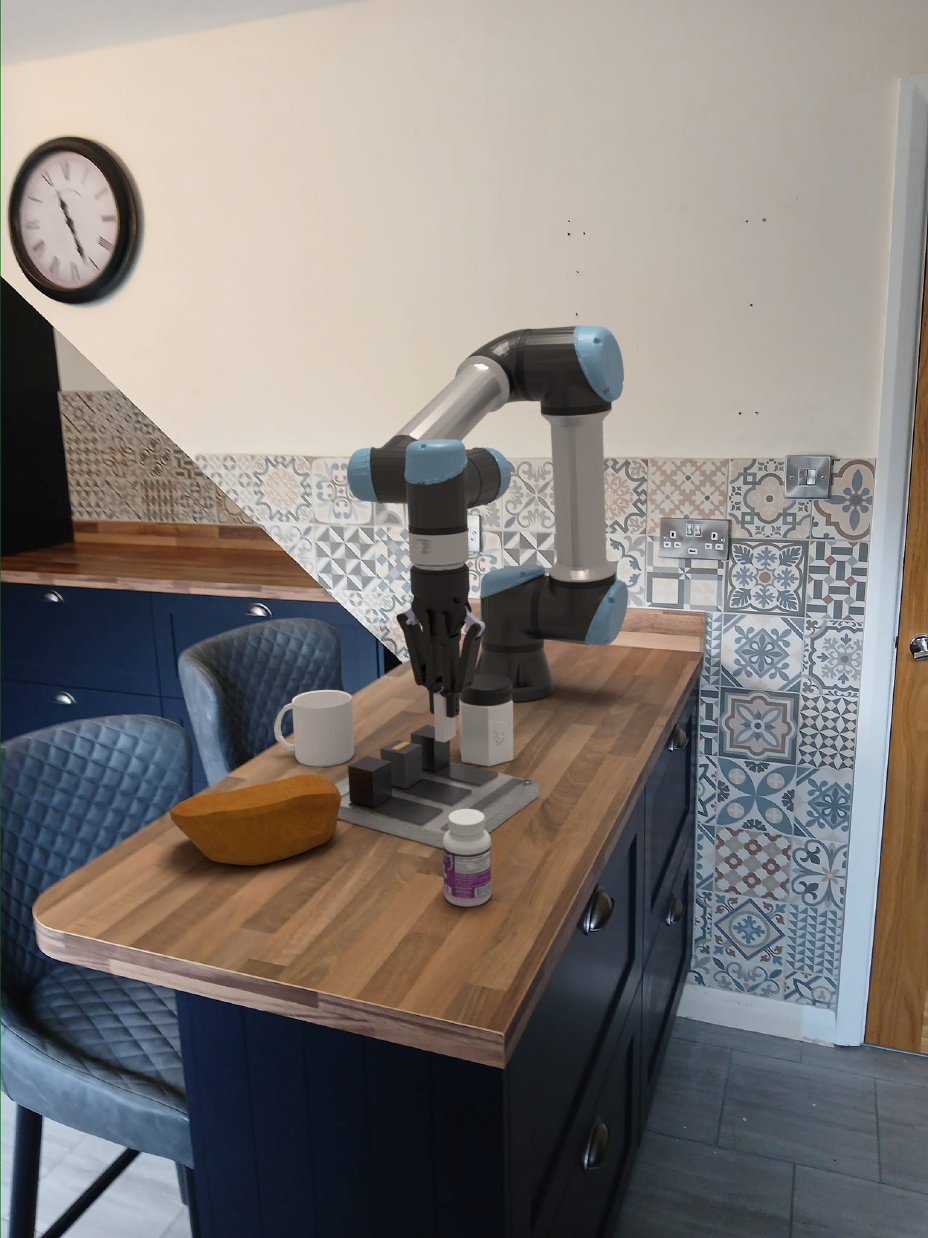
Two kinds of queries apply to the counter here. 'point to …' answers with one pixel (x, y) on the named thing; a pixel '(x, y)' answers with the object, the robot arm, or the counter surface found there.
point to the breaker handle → (404, 762)
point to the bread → (261, 820)
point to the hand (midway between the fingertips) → (445, 738)
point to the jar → (487, 721)
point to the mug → (320, 728)
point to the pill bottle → (467, 859)
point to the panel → (429, 794)
